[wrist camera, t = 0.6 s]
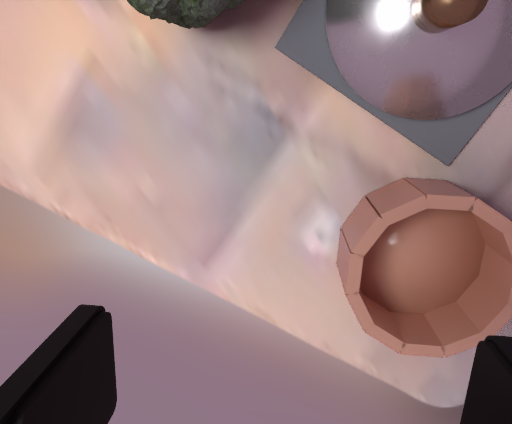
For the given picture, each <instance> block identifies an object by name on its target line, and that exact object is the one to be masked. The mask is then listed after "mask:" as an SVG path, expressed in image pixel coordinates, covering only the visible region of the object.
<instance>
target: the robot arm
mask: <svg viewBox="0 0 512 424" xmlns="http://www.w3.org/2000/svg"><path fill="white" fill-rule="evenodd" d="M116 402H117V391H116V376H115V362H114V346H113V331H112V317H111V314H110V313H109V312H105V308H104V307H103V306H95V305H79V306H78V307H77V308H76V309H75V310H74V311H73V312H72V313H71V314H70V315H69V316H68V317H67V318H66V319H65V320H64V322H62V323H61V324H60V326H59V327H58V328H57V329H56V330H55V331H54V332H53V333H52V334H51V335H50V336H49V337H48V338H47V339H46V340H45V341H44V342H43V343H42V344H41V345H40V346H39V347H38V348H37V349H36V350H35V352H33V354H31V356H30V357H28V359H27V360H26V361H25V362H24V363H23V364H22V365H21V366H20V367H19V368H18V369H17V370H16V371H15V372H14V373H13V374H12V375H11V376H10V377H9V378H8V379H7V380H6V381H5V382H4V383H3V384H2V385H1V386H0V424H108V422H109V420H110V418H111V416H112V415H113V413H114V410H115V407H116ZM460 424H512V337H506V336H493V335H489V336H487V337H486V338H485V340H484V341H479V343H478V345H477V348H476V353H475V357H474V362H473V367H472V371H471V376H470V380H469V385H468V390H467V394H466V399H465V403H464V408H463V413H462V417H461V422H460Z"/></svg>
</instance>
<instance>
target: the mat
mask: <svg viewBox="0 0 512 424" xmlns="http://www.w3.org/2000/svg"><path fill="white" fill-rule="evenodd" d="M325 3H326V0H304V1H303V2H302V4H301V6H300V7H299V9H298V10H297V12H296V14H295V15H294V17H293V19H292V20H291V22H290V24H289V25H288V27H287V28H286V30H285V32H284V33H283V35H282V37H281V38H280V40H279V42H278V43H277V45H276V46H275V48H276V49H278V50H279V51H281V52H282V53H283V54H285V55H286V56H288V57H289V58H291V59H292V60H294V61H295V62H297V63H298V64H299V65H301V66H302V67H304V68H305V69H307V70H308V71H310V72H311V73H313V74H314V75H316V76H317V77H318V78H320V79H321V80H323V81H324V82H326V83H327V84H329V85H330V86H332V87H333V88H335V89H336V90H337V91H339V92H340V93H342V94H343V95H345V96H346V97H348V98H349V99H351V100H352V101H353V102H355V103H356V104H358V105H359V106H361V107H362V108H364V109H365V110H367V111H368V112H370V113H371V114H372V115H374V116H375V117H377V118H378V119H380V120H381V121H383V122H384V123H386V124H387V125H389V126H390V127H391V128H393V129H394V130H396V131H397V132H399V133H400V134H402V135H403V136H405V137H406V138H407V139H409V140H410V141H412V142H413V143H415V144H416V145H418V146H419V147H421V148H422V149H424V150H425V151H426V152H428V153H429V154H431V155H432V156H434V157H435V158H437V159H438V160H440V161H441V162H442V163H444V164H445V165H447V166H449V165H450V163H451V162H452V161H453V160H454V158H455V157H456V156H457V155H458V153H459V152H460V151H461V150H462V148H463V147H464V146H465V145H466V143H467V142H468V141H469V140H470V138H471V137H472V136H473V135H474V133H475V132H476V131H477V130H478V128H479V127H480V126H481V125H482V123H483V122H484V121H485V120H486V118H487V117H488V116H489V115H490V113H491V112H492V111H493V110H494V108H495V107H496V106H497V105H498V103H499V102H500V101H501V100H502V98H503V97H504V96H505V95H506V93H507V92H508V91H509V90H510V88H511V87H512V82H511V83H510V84H509V85H508V86H506V87H505V88H504V89H503V90H502V91H501V92H500V93H498V94H497V95H495V96H494V97H493V98H491V99H490V100H488V101H487V102H485V103H483V104H481V105H479V106H478V107H476V108H474V109H471V110H469V111H466V112H464V113H462V114H458V115H455V116H451V117H447V118H440V119H433V120H418V119H409V118H403V117H400V116H396V115H392V114H389V113H387V112H384V111H382V110H379V109H377V108H376V107H374V106H372V105H371V104H369V103H367V102H366V101H365V100H364V99H362V98H361V97H360V96H358V95H357V94H356V93H355V92H354V91H353V89H352V88H351V87H350V86H349V85H348V84H347V83H346V81H345V80H344V78H343V77H342V76H341V74H340V72H339V70H338V68H337V67H336V65H335V63H334V60H333V58H332V55H331V52H330V49H329V45H328V41H327V37H326V28H325Z"/></svg>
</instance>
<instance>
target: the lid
mask: <svg viewBox="0 0 512 424" xmlns="http://www.w3.org/2000/svg"><path fill="white" fill-rule="evenodd" d="M325 28H326V37H327V41H328V45H329V49H330V52H331V55H332V58H333V60H334V63H335V65H336V67H337V68H338V70H339V72H340V74H341V76H342V77H343V78H344V80H345V81H346V83H347V84H348V85H349V86H350V87H351V88H352V89H353V91H354V92H355V93H356V94H357V95H358V96H360V97H361V98H362V99H364V100H365V101H366V102H367V103H369V104H371V105H372V106H374V107H376V108H377V109H379V110H382V111H384V112H387V113H389V114H392V115H396V116H400V117H403V118H409V119H418V120H433V119H440V118H447V117H451V116H455V115H458V114H462V113H464V112H466V111H469V110H471V109H474V108H476V107H478V106H479V105H481V104H483V103H485V102H487V101H488V100H490V99H491V98H493V97H494V96H495V95H497V94H498V93H500V92H501V91H502V90H503V89H504V88H505V87H506V86H508V85H509V84H510V83H511V82H512V0H326V3H325Z"/></svg>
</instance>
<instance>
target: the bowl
mask: <svg viewBox="0 0 512 424" xmlns="http://www.w3.org/2000/svg"><path fill="white" fill-rule="evenodd" d="M366 197H367V198H366ZM366 197H363V198H362V200H361V201H360V202H359V204H358V205H357V206H356V208H355V209H354V210H353V212H352V213H351V214H350V216H349V217H348V218H347V220H346V221H345V222H344V224H343V225H342V226H341V227H342V229H340V238H339V247H338V256H337V267H338V270H339V274H340V277H341V281H342V284H343V288H344V291H345V295H346V297H347V299H348V301H349V303H350V305H351V307H352V309H353V311H354V313H355V315H356V317H357V319H358V321H359V323H360V325H361V327H362V329H363V330H364V332H365V333H367V334H368V335H370V336H372V337H373V338H375V339H376V340H378V341H379V342H381V343H383V344H384V345H386V346H387V347H389V348H391V349H392V350H394V351H395V352H397V353H400V354H404V355H416V356H428V357H440V358H444V355H445V357H448V356H451V355H454V354H457V353H459V352H462V351H465V350H467V349H470V348H473V347H476V346H477V345H478V343H479V341H484V340H485V338H486V337H487V336H489V335H493V336H495V335H496V333H497V332H498V331H499V330H500V329H501V328H502V327H503V326H504V325H505V324H506V323H507V322H508V321H509V320H510V319H511V318H512V221H510V220H509V219H508V218H506V217H505V216H503V215H502V214H500V213H499V212H497V211H496V210H494V209H493V208H491V207H490V206H488V205H487V204H486V203H484V202H483V201H481V200H480V199H478V198H477V197H475V196H473V195H471V194H469V193H468V192H466V191H464V190H462V189H461V188H459V187H457V186H455V185H453V184H452V183H450V182H448V181H445V180H435V179H419V178H405V179H403V178H402V179H399V180H397V181H395V182H393V183H391V184H388V185H386V186H384V187H382V188H380V189H378V190H375V191H373V192H371V193H369V194H367V195H366Z"/></svg>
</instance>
